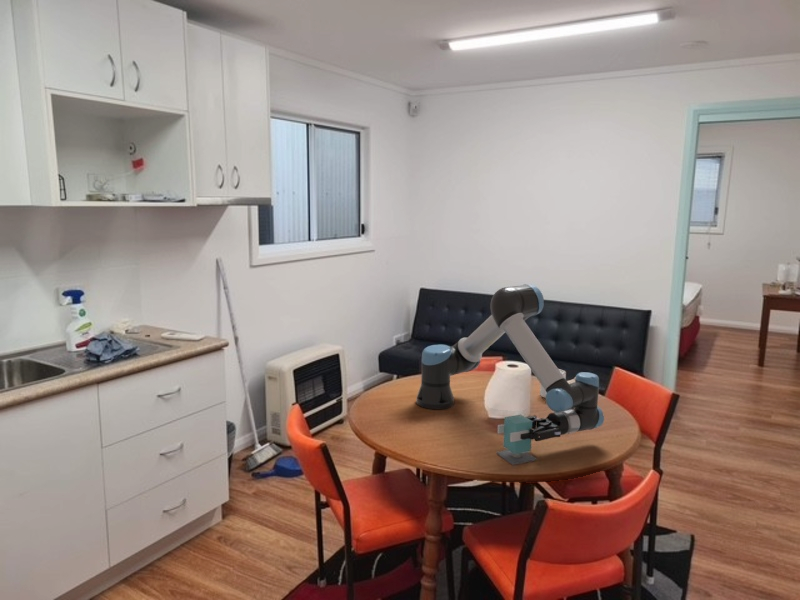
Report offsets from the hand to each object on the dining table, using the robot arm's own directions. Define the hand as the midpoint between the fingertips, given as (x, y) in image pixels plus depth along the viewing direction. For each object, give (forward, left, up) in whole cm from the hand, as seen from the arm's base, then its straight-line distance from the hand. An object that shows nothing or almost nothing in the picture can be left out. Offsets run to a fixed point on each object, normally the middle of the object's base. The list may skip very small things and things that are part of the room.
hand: (504, 433), depth 180 cm
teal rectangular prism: (+4, +4, -6) cm, 8 cm away
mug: (+8, +72, -9) cm, 73 cm away
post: (+3, +4, -9) cm, 10 cm away
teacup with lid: (+19, +62, -9) cm, 65 cm away
